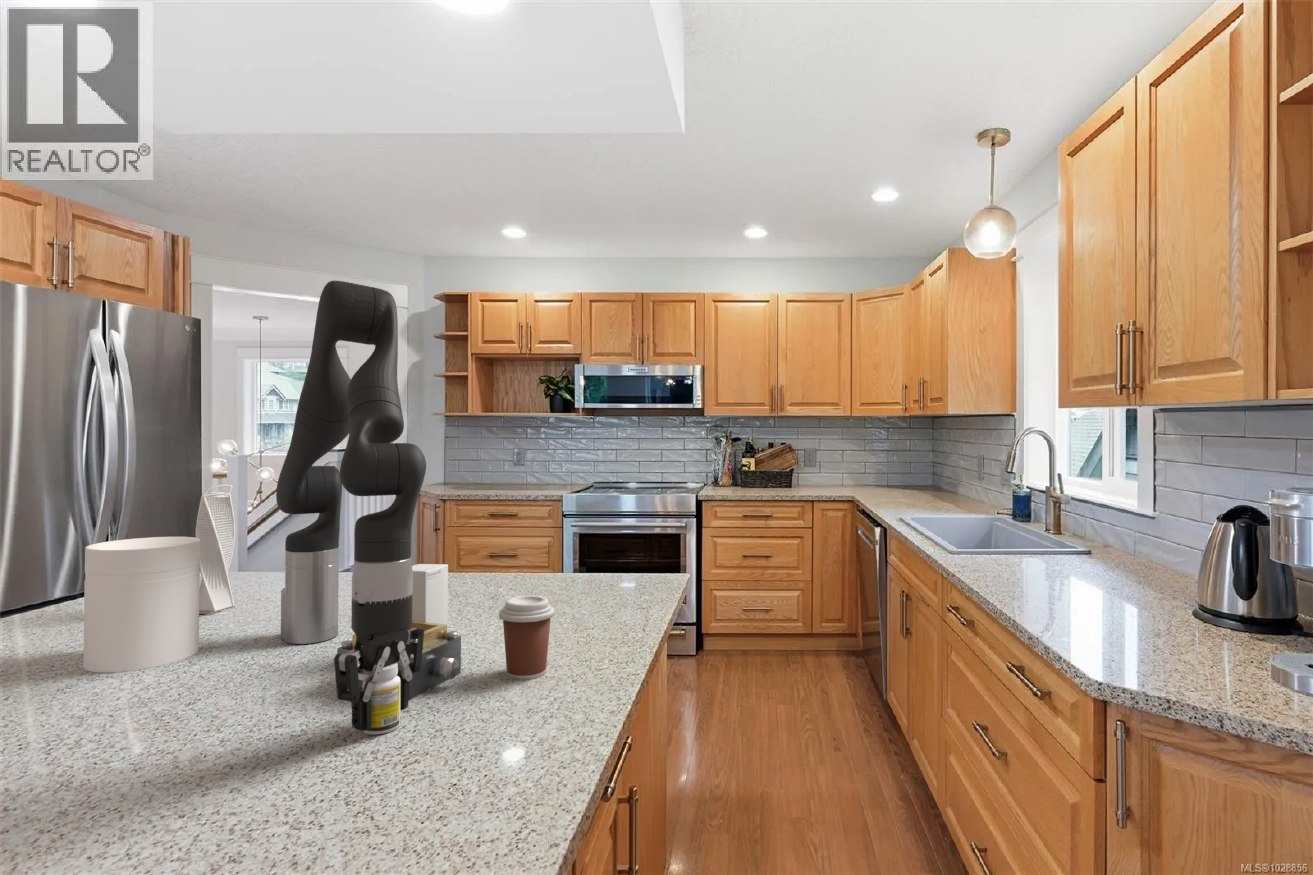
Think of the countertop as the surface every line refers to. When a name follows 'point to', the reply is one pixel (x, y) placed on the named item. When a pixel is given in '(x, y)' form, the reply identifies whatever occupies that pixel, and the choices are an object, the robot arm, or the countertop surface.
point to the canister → (140, 603)
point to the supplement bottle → (385, 701)
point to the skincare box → (430, 593)
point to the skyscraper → (215, 550)
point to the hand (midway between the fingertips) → (381, 718)
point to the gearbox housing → (429, 657)
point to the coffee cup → (526, 635)
